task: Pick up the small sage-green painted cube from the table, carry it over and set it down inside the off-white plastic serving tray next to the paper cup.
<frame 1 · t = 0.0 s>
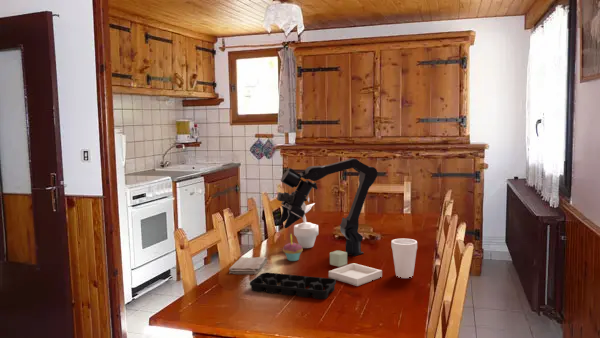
hand: (282, 225, 210), 15 cm above the table, tool tilted 35°, fingers open, 9 cm apart
potted plant: (307, 246, 233), on the table
washcloth: (248, 269, 202), on the table
cupcake: (292, 259, 212), on the table
foam cup: (404, 276, 187), on the table
egg carton: (293, 291, 175), on the table
cube: (338, 264, 204), on the table
tray: (355, 277, 186), on the table
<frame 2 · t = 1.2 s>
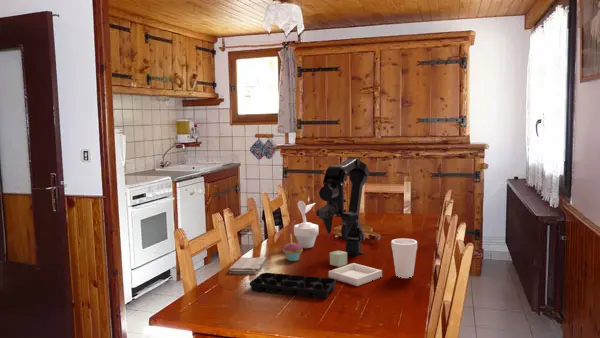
hand: (337, 235, 202), 12 cm above the table, tool pointing down, fingers open, 9 cm apart
nothing on the table moved.
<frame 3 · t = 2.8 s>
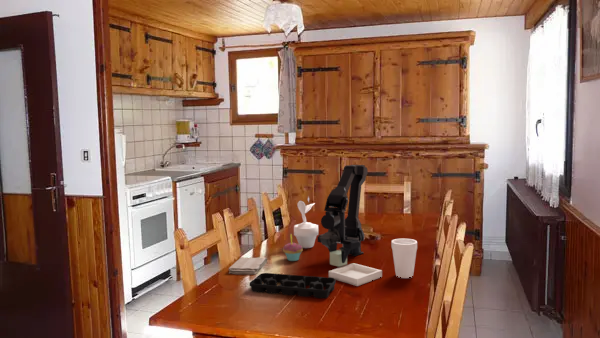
hand: (338, 261, 204), 1 cm above the table, tool pointing down, fingers closed on cube, 5 cm apart
cube: (338, 264, 204), on the table, touching gripper
everything else where it was.
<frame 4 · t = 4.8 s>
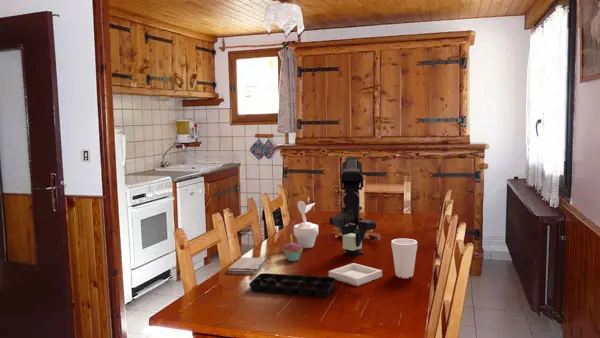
hand: (352, 245, 187), 12 cm above the table, tool pointing down, fingers closed on cube, 5 cm apart
cube: (352, 248, 187), point 11 cm above the table, touching gripper
everything else where it was.
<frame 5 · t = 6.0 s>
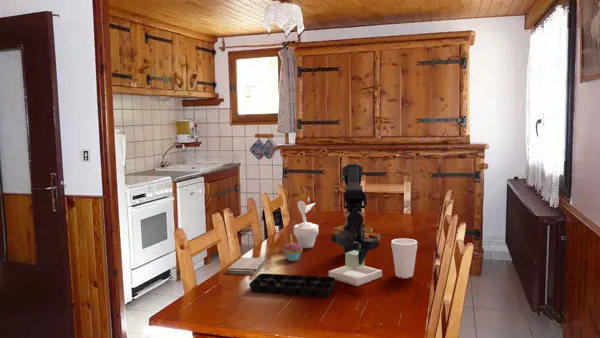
hand: (355, 263, 186), 5 cm above the table, tool pointing down, fingers closed on cube, 5 cm apart
cube: (355, 265, 186), point 4 cm above the table, touching gripper
when the fingers open (3 cm above the table, at t = 6.8 s): cube drops 2 cm, resting on tray.
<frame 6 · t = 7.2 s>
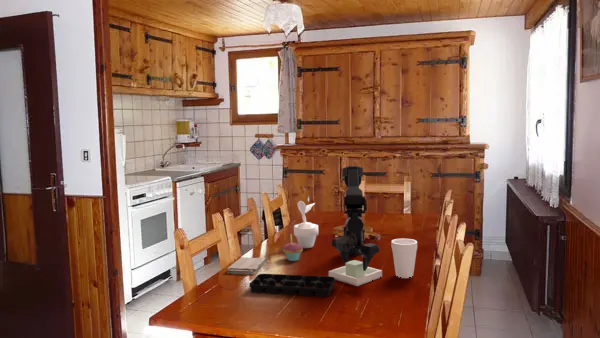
hand: (355, 268, 186), 3 cm above the table, tool pointing down, fingers open, 9 cm apart
cube: (355, 275, 186), point 1 cm above the table, touching tray
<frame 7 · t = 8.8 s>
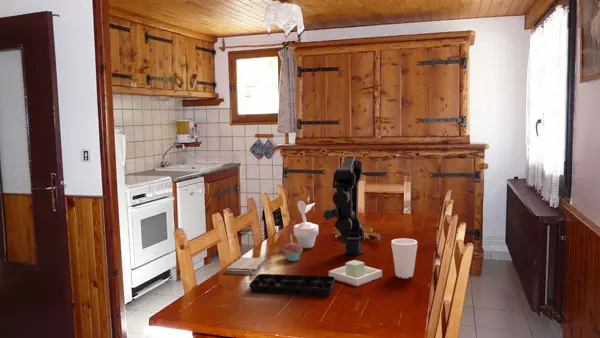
hand: (345, 240, 197), 11 cm above the table, tool pointing down, fingers open, 9 cm apart
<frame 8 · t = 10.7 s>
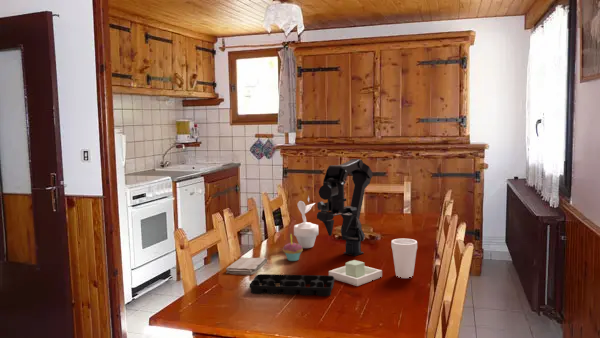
hand: (337, 233, 205), 12 cm above the table, tool pointing down, fingers open, 9 cm apart
at the end: cube inside the target area on the tray (0.1 cm from its centre), point 0.6 cm above the tray's base; the gripper is holding nothing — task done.
